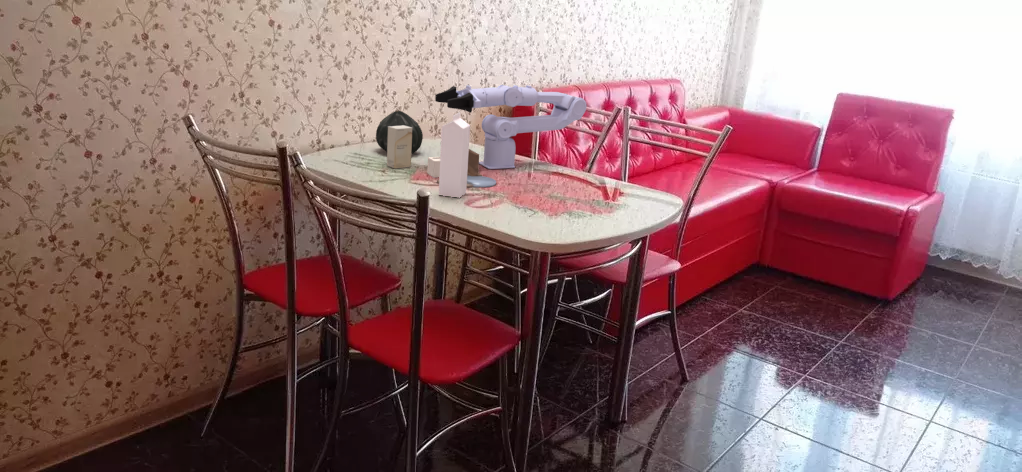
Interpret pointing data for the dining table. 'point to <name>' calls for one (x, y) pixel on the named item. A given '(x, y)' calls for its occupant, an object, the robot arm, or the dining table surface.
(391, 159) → the skincare box
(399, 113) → the squash
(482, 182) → the light blue plate
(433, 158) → the letter cube
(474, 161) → the brown upright panel
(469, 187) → the cork mat
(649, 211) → the dining table surface
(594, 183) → the dining table surface
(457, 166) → the milk
